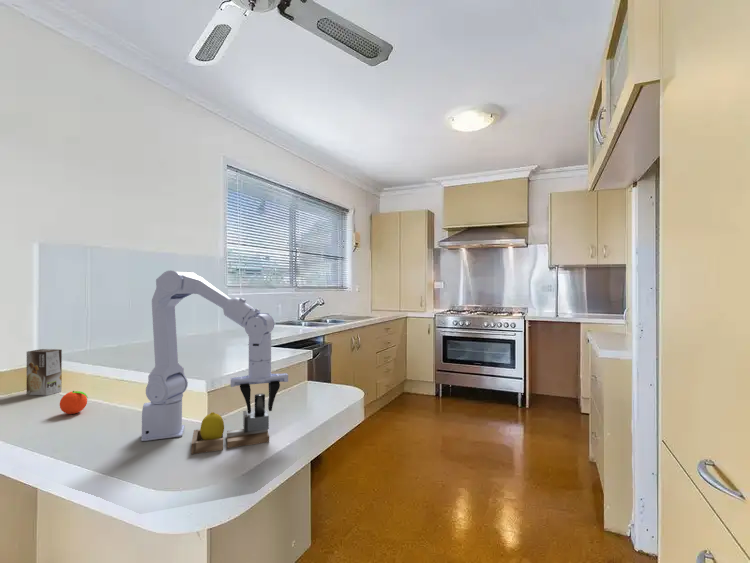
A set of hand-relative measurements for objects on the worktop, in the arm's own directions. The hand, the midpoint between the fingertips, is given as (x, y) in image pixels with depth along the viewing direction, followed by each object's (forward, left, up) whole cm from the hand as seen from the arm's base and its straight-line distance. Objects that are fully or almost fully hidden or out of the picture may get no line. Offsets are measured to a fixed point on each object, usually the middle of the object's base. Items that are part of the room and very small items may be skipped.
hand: (259, 411), depth 103 cm
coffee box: (-71, +75, -7) cm, 104 cm away
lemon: (-11, 0, -7) cm, 14 cm away
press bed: (-3, 0, -7) cm, 8 cm away
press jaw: (-1, 0, -4) cm, 4 cm away
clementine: (-52, +42, -7) cm, 67 cm away
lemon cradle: (-11, 0, -7) cm, 13 cm away
